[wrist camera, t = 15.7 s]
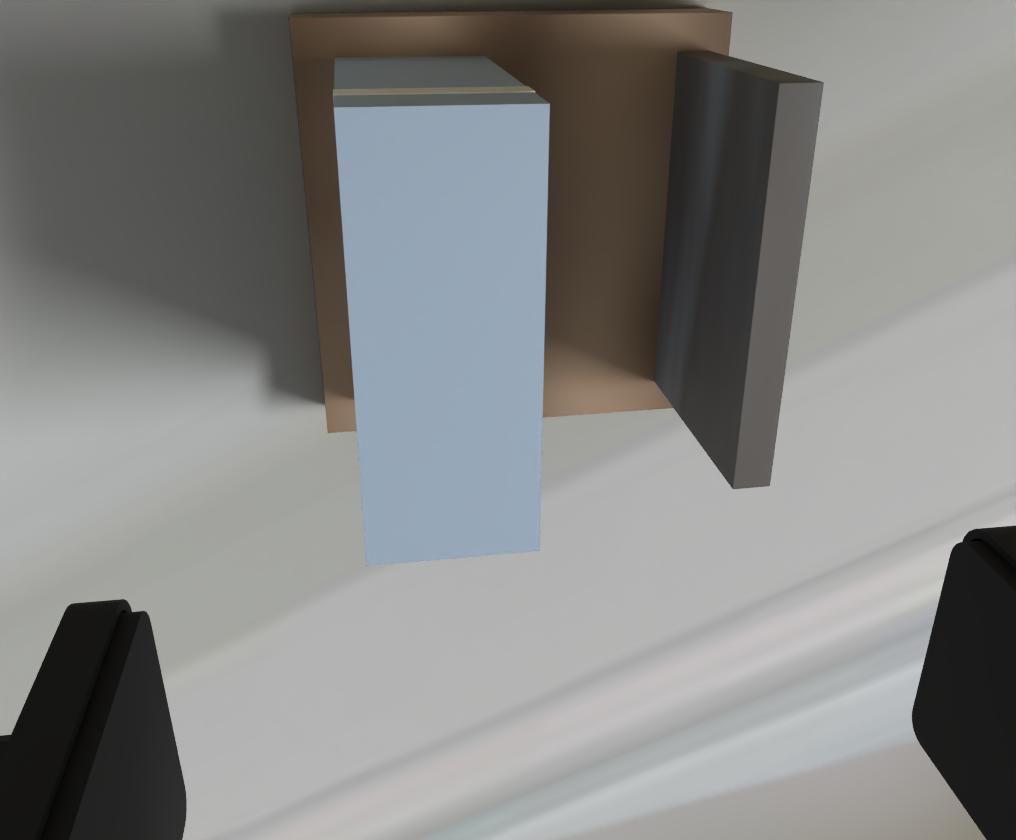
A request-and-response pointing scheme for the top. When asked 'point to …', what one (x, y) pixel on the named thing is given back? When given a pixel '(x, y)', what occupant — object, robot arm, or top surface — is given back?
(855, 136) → the top surface
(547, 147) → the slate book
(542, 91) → the brown l-shaped piece
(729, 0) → the top surface
